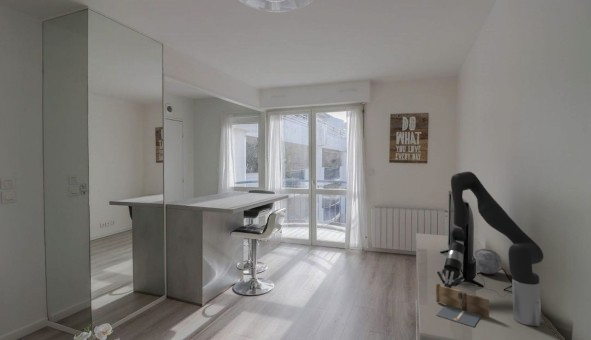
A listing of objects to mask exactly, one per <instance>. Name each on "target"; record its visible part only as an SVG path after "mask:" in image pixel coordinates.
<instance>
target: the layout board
mask: <svg viewBox="0 0 591 340" xmlns="http://www.w3.org/2000/svg"><path fill="white" fill-rule="evenodd" d="M461 306H462V304H461ZM436 316H437V317H439V318H443V319H446V320H449V321H453V322H456V323H459V324H462V325H465V326H468V327H472V328H475V326H476V325H477V324H478V322H479V321H480V319H481V318H482V317H483V316H482V315H479V314H476V313H472V312H469V311H464V310H462V308H457V307H454V306H450V305H447V304H444V306H443V307H442V308H441V309H440V310H439V311H438V312H437V313H436Z"/></svg>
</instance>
